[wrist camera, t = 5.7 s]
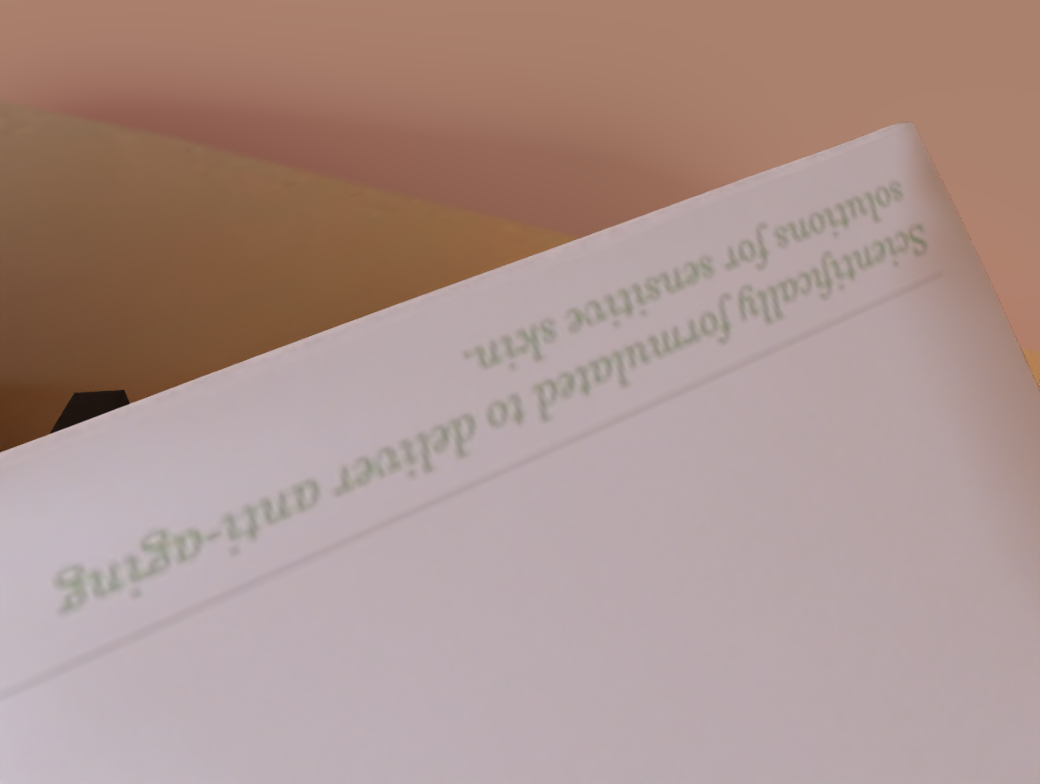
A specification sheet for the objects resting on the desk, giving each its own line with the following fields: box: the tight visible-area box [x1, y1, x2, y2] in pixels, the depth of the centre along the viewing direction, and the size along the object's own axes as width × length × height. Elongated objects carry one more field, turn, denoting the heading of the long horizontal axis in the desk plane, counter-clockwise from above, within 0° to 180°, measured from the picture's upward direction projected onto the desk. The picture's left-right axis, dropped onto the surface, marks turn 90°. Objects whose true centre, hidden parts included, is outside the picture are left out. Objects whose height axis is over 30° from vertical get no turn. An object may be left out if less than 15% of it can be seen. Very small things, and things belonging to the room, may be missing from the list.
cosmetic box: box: [0, 122, 1040, 784], centre depth 11 cm, size 8×7×16 cm
